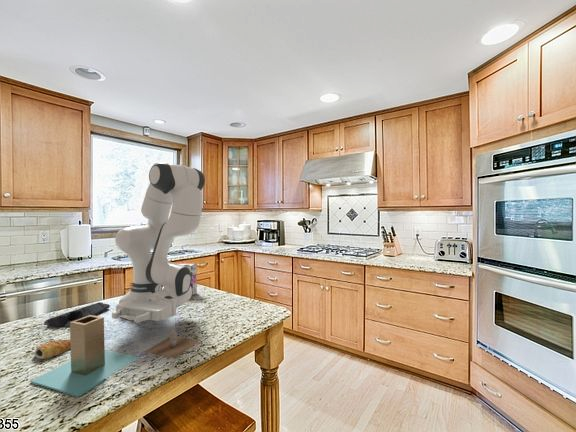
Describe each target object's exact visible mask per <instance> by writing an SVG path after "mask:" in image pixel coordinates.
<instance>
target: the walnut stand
mask: <svg viewBox="0 0 576 432" xmlns="http://www.w3.org/2000/svg"><path fill="white" fill-rule="evenodd" d="M198 342H200V339H193V338H188V337H183V336H178V335H177V331H176V330H171V331H170V333H169V336H168V337H166V338H165V339H163V340H162V341H160V342H159V343H157V344H155V345H153V346H152V347H150V348H148V349H147V350H145V351H144V353H147V354H151V355H156V356H163V357H166V358H167V357H168V358H171V359H177V358H178V357H179V356H181V355H182V354H183V353H185V352H187V350H189V349H191V348H192V347H193V346H194V345H196V344H198Z"/></svg>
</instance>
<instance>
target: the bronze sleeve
mask: <svg viewBox="0 0 576 432" xmlns="http://www.w3.org/2000/svg"><path fill="white" fill-rule="evenodd" d="M69 334H70V335H69V336H70V337H69V340H70V346H71V348H70V361H71V372H73V373H77V374H81V375H85V376H86V375H88V374H89V373H91V372H93V371H95V370H96V369H98V368H100V367H102V366H103V365H105V350H106V349H105V317H103V316H98V315H95V316H93V315H89V316H86V317H83V318H81V319H78V320H75V321H72V322H70V327H69Z"/></svg>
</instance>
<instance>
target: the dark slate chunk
mask: <svg viewBox="0 0 576 432" xmlns="http://www.w3.org/2000/svg"><path fill="white" fill-rule="evenodd" d="M110 306H111V305H110V304H107V303H103V302H100V301H99V302H95V303H93V304H90V305H87V306H84V307H80V308H77V309H73V310H71V311H68V312H65V313H62V314H59V315H56V316H53V317H49V318H48V319H46V320H45V321H44V323H43V325H44V326H50V327H52V328H53V327H54V328H70V322H72V321H75V320H78V319H81V318H83V317H86V316H89V315H93V316H98V315H100V314H101V313H103V312H105V311H106V310H108V309H109V308H110Z"/></svg>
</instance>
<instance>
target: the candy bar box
mask: <svg viewBox="0 0 576 432" xmlns="http://www.w3.org/2000/svg"><path fill="white" fill-rule="evenodd" d="M178 264H179V265H182V266H185V267H188V268H189V270H190V272H191V277H192V280H191V285H190V286H191V288H192V295H191V297H193V296H195V295H197V293H198V289H197V287H198V286H197V285H198V284H197V263H178Z"/></svg>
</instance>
